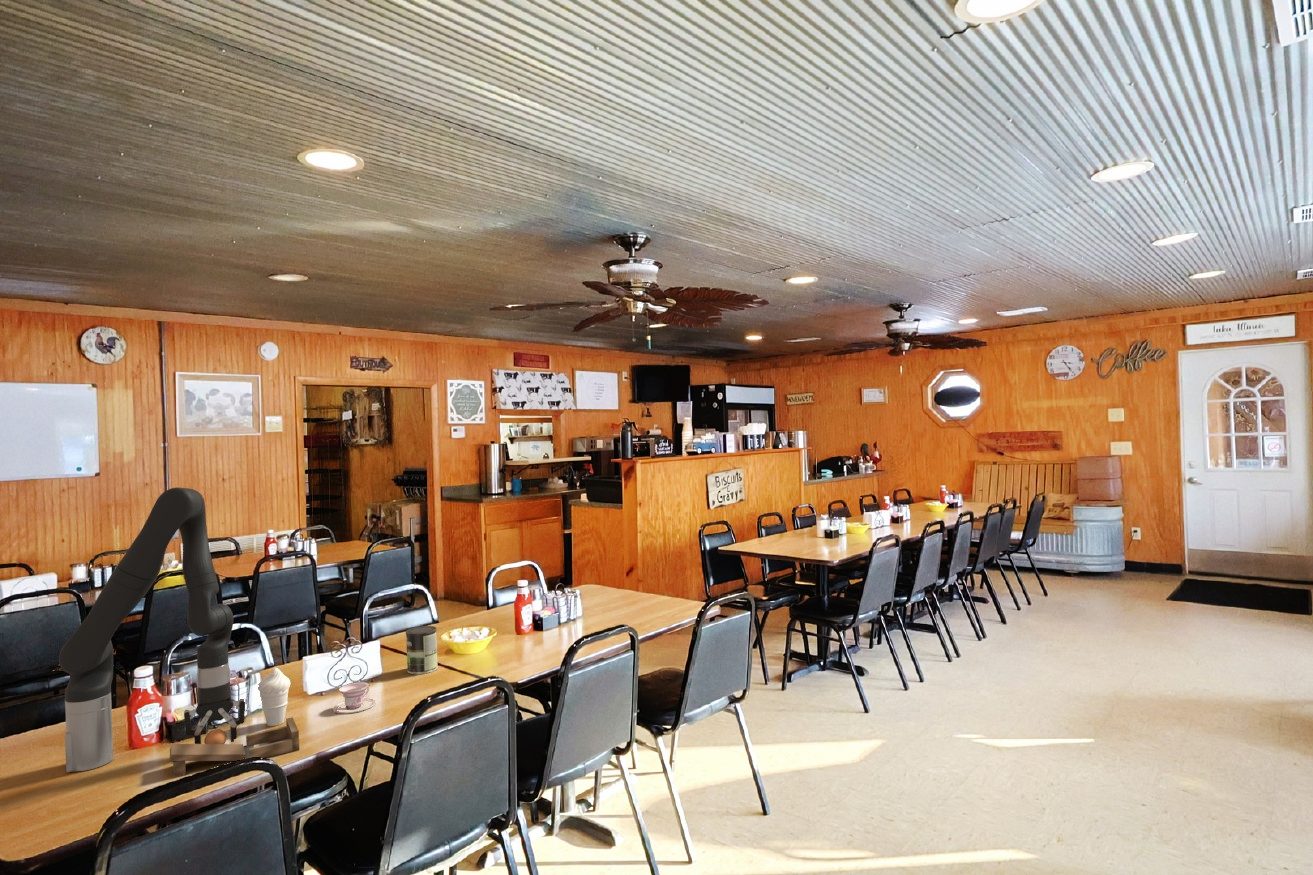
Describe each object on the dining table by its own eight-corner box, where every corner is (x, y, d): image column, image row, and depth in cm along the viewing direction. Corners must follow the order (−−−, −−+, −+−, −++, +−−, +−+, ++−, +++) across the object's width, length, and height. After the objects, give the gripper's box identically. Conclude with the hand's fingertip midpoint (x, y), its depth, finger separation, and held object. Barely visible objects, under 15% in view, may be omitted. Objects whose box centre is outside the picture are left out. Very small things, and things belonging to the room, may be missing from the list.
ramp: (170, 778, 175) (169, 754, 175) (170, 766, 182) (169, 744, 182) (245, 760, 184) (244, 737, 184) (243, 749, 190) (242, 728, 190)
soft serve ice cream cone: (252, 726, 206) (250, 670, 207) (279, 716, 214) (277, 661, 214) (271, 730, 203) (269, 673, 203) (298, 720, 210) (296, 664, 210)
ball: (205, 754, 188) (204, 735, 188) (204, 748, 192) (203, 729, 192) (227, 749, 191) (226, 730, 191) (226, 743, 195) (225, 724, 195)
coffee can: (409, 676, 247) (407, 634, 247) (405, 668, 256) (404, 628, 256) (440, 671, 251) (438, 630, 251) (435, 663, 261) (434, 624, 261)
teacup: (346, 717, 211) (345, 696, 211) (325, 709, 218) (324, 689, 218) (383, 704, 221) (382, 684, 221) (362, 697, 228) (361, 677, 228)
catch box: (246, 762, 182) (245, 742, 182) (243, 747, 192) (242, 728, 192) (299, 749, 188) (298, 730, 189) (293, 735, 199) (292, 717, 199)
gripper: (181, 691, 185) (183, 757, 185) (246, 679, 193) (248, 742, 192) (181, 684, 191) (183, 747, 191) (243, 672, 199) (246, 733, 199)
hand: (216, 744), depth 192 cm, fingers open, 7 cm apart
